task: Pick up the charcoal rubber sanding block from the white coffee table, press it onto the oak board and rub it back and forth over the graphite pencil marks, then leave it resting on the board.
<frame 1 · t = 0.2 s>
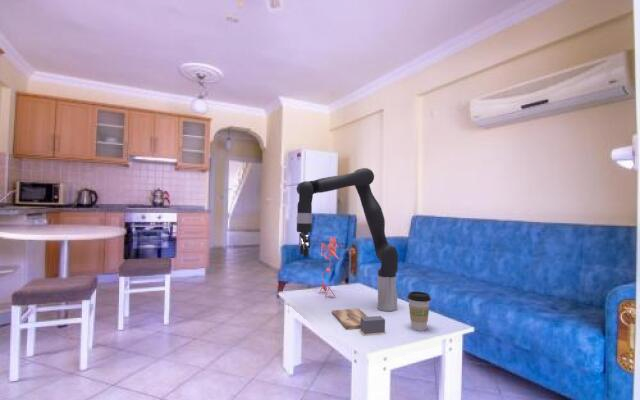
hand: (304, 255, 160), 29 cm above the table, fingers open, 8 cm apart
coffee cup: (418, 328, 145), on the table
sanding block: (372, 332, 139), on the table
oak board: (352, 319, 154), on the table
figurine: (332, 294, 197), on the table
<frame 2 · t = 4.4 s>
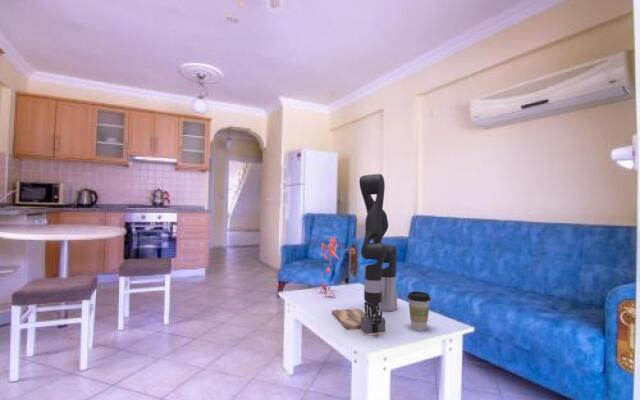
hand: (372, 330, 139), 1 cm above the table, fingers closed on sanding block, 4 cm apart
sanding block: (372, 332, 139), on the table, touching gripper
everything else where it was.
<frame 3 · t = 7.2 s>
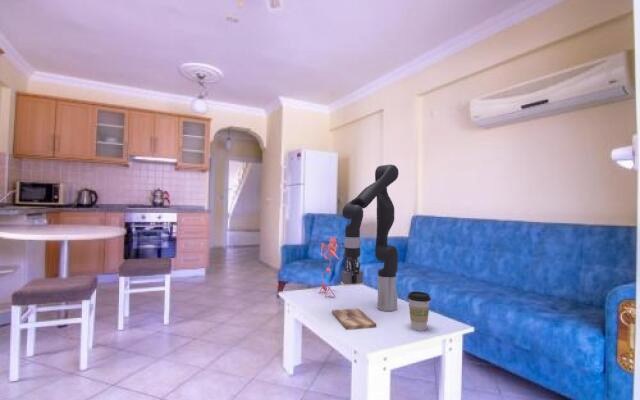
hand: (352, 281, 157), 17 cm above the table, fingers closed on sanding block, 4 cm apart
sanding block: (352, 283, 157), point 16 cm above the table, touching gripper
everything else where it was.
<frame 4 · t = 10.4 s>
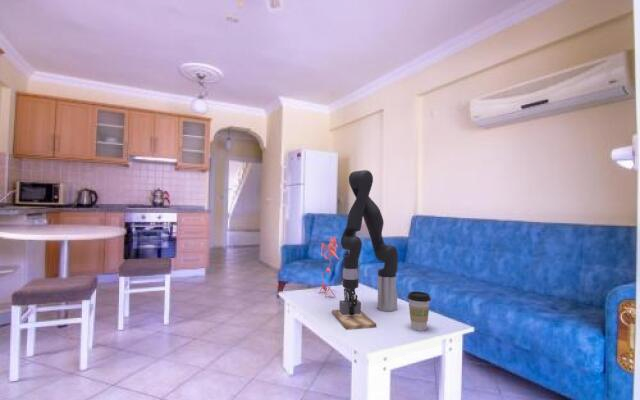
hand: (350, 312, 158), 2 cm above the table, fingers closed on sanding block, 4 cm apart
sanding block: (350, 314, 158), point 2 cm above the table, touching gripper, oak board
everything else where it was.
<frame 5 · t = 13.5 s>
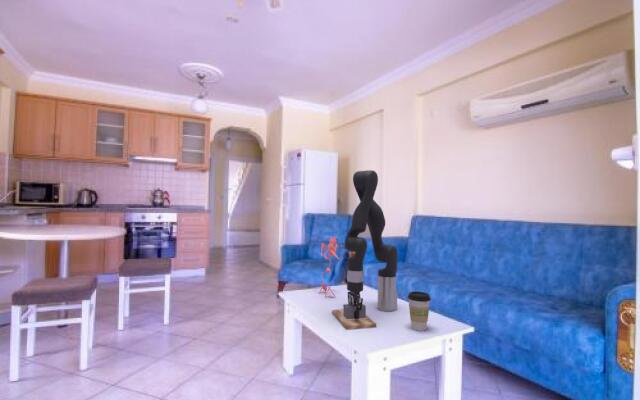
hand: (354, 316, 152), 2 cm above the table, fingers closed on sanding block, 4 cm apart
sanding block: (354, 318, 151), point 2 cm above the table, touching gripper, oak board
everything else where it was.
when the fingers open (2 cm above the table, at t = 16.4 s): sanding block stays where it is, resting on oak board.
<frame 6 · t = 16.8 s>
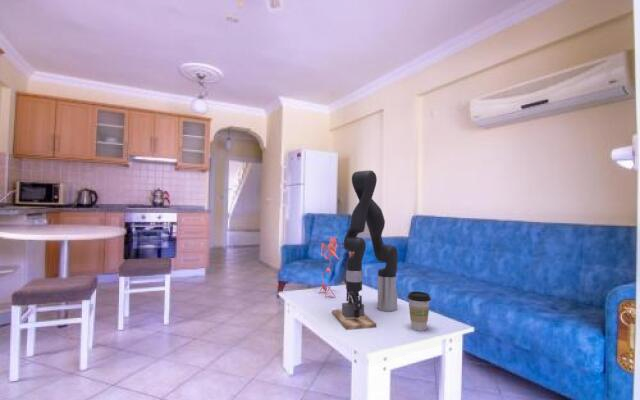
hand: (353, 314, 153), 3 cm above the table, fingers open, 8 cm apart
sanding block: (352, 316, 154), point 2 cm above the table, touching oak board
everything else where it was.
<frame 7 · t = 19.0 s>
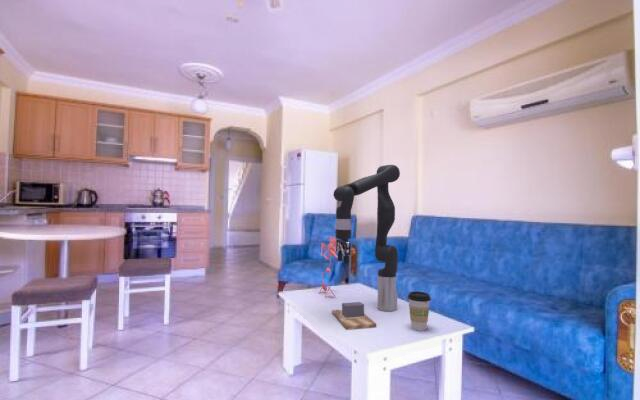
hand: (342, 262, 156), 26 cm above the table, fingers open, 8 cm apart
nothing on the table moved.
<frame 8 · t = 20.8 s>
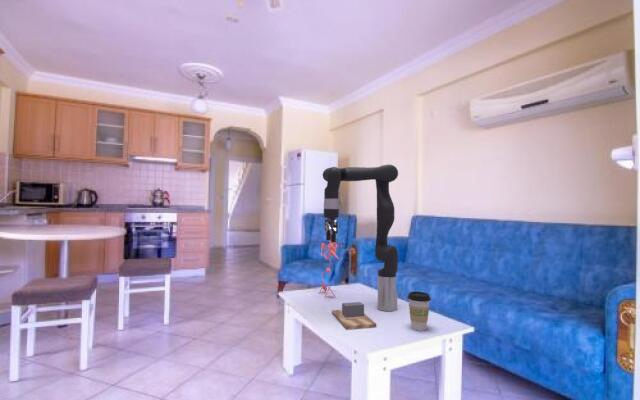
hand: (330, 241, 160), 36 cm above the table, fingers open, 8 cm apart
nothing on the table moved.
at the end: sanding block inside the target area on the oak board (0.3 cm from its centre), point 1.5 cm above the oak board's base; sanding block touching oak board; the gripper is holding nothing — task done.
